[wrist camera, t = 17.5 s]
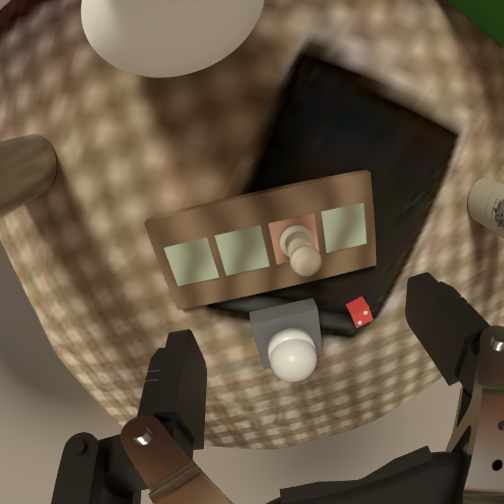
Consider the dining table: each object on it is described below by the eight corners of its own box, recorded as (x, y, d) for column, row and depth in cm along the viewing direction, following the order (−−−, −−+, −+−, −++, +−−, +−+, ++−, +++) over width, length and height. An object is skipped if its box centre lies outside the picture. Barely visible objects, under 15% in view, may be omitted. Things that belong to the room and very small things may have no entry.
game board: (179, 304, 46) (177, 310, 44) (146, 219, 39) (143, 223, 38) (372, 260, 44) (376, 265, 43) (365, 169, 38) (370, 172, 37)
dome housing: (262, 356, 51) (263, 368, 48) (249, 312, 47) (250, 324, 44) (318, 343, 51) (322, 355, 48) (313, 297, 46) (317, 309, 44)
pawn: (282, 258, 41) (292, 289, 34) (276, 228, 39) (286, 254, 32) (314, 250, 41) (330, 280, 34) (309, 220, 39) (326, 245, 32)
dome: (271, 363, 47) (276, 395, 41) (263, 332, 44) (267, 365, 38) (314, 353, 47) (323, 384, 41) (309, 321, 44) (320, 353, 38)
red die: (350, 317, 49) (357, 329, 46) (345, 304, 48) (352, 316, 45) (366, 309, 48) (373, 320, 45) (362, 296, 47) (369, 308, 44)
